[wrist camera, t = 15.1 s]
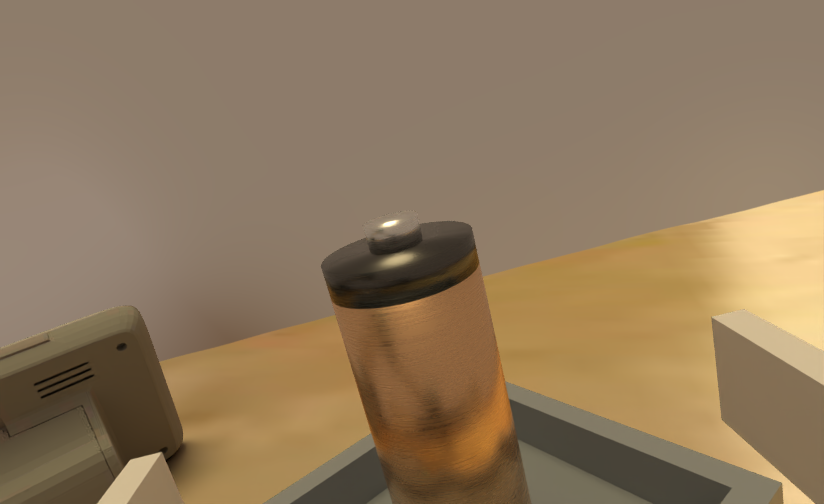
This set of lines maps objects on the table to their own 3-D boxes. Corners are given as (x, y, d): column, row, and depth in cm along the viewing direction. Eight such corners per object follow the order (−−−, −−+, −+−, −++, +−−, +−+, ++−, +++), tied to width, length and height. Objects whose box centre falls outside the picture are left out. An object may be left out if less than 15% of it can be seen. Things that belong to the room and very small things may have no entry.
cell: (392, 571, 19) (288, 240, 15) (480, 498, 21) (406, 197, 18) (477, 660, 15) (364, 251, 12) (571, 560, 17) (499, 195, 14)
